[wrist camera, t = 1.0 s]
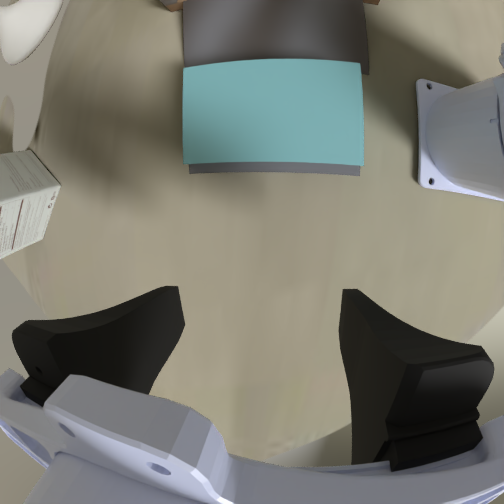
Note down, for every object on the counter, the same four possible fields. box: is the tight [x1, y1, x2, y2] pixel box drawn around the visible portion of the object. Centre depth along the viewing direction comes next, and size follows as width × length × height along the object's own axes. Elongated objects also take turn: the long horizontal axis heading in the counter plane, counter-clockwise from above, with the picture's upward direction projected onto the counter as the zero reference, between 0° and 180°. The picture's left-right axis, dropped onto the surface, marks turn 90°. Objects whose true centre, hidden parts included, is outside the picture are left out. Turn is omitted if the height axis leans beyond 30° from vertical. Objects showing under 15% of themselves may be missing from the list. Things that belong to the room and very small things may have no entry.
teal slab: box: [183, 59, 364, 176], centre depth 15 cm, size 10×7×4 cm, turn 91°
